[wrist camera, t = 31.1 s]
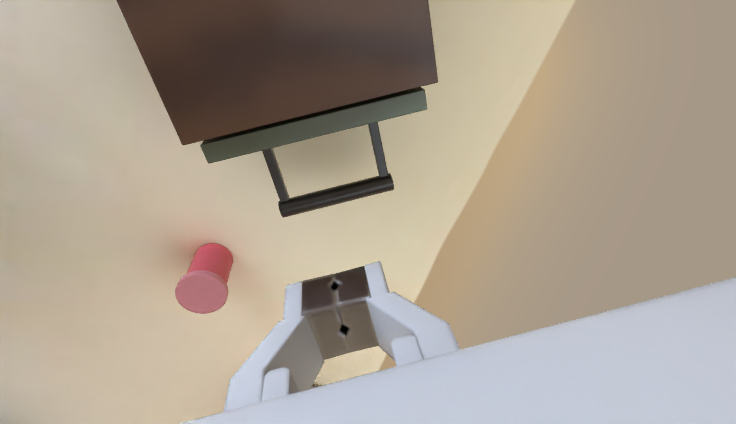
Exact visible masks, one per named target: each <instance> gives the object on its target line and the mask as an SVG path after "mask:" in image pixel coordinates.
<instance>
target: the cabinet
mask: <svg viewBox="0 0 736 424" xmlns="http://www.w3.org/2000/svg"><path fill="white" fill-rule="evenodd" d="M117 2H118V5H119V7H120V9H121V11H122V13H123V16H124V18H125V20H126V22H127V24H128V27H129V29H130V31H131V33H132V35H133V38H134V40H135V42H136V44H137V46H138V49H139V51H140V53H141V55H142V57H143V59H144V62H145V64H146V66H147V68H148V70H149V73H150V75H151V77H152V79H153V81H154V84H155V86H156V88H157V90H158V92H159V95H160V97H161V99H162V101H163V103H164V106H165V108H166V110H167V112H168V114H169V117H170V119H171V121H172V123H173V125H174V128H175V130H176V132H177V134H178V136H179V139H180V141H181V143H182V145H187V144H191V143H195V142H199V141H203V140H207V139H211V138H215V137H219V136H223V135H227V134H232V133H236V132H240V131H244V130H248V129H252V128H256V127H260V126H264V125H268V124H272V123H276V122H280V121H284V120H288V119H292V118H296V117H300V116H304V115H308V114H312V113H316V112H320V111H324V110H328V109H332V108H336V107H341V106H345V105H349V104H353V103H357V102H361V101H365V100H369V99H373V98H377V97H381V96H385V95H389V94H393V93H397V92H401V91H405V90H409V89H413V88H417V87H421V86H425V85H429V84H433V83H437V82H438V77H437V69H436V61H435V53H434V45H433V37H432V28H431V20H430V12H429V4H428V0H117Z"/></svg>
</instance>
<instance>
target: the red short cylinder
mask: <svg viewBox="0 0 736 424" xmlns="http://www.w3.org/2000/svg"><path fill="white" fill-rule="evenodd" d="M232 263H233V256H232V254H231V252H230V251H229V250H228V249H227V248H226V247H224V246H222V245H220V244H214V243H211V244H206V245H203V246H201V247H200V248H199V249H198V250H197V251H196V253H195V256H194V258H193V260H192V263H191V265H190V267H189V269H188V272H187V274H186V275H184V276H183V277H182V278H181V279H180V280H179V282H178V284H177V287H176V290H175V295H176V299H177V301H178V302H179V303H180V305H181V306H183V307H184V308H185V309H187V310H189V311H191V312H195V313H201V314H205V313H211V312H214V311H216V310H218V309H220V308H221V307H222V306H223V305H224V304H225V302H226V300H227V296H228V287H227V281H228V278H229V274H230V271H231V267H232Z"/></svg>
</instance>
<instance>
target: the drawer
mask: <svg viewBox="0 0 736 424" xmlns="http://www.w3.org/2000/svg"><path fill="white" fill-rule="evenodd" d="M426 109H427V103H426V96H425V90H424V89H423V88H421V87H417V88H413V89H409V90H405V91H401V92H397V93H393V94H389V95H385V96H381V97H377V98H373V99H369V100H365V101H361V102H357V103H353V104H349V105H345V106H341V107H336V108H332V109H328V110H324V111H320V112H316V113H312V114H308V115H304V116H300V117H296V118H292V119H288V120H284V121H280V122H276V123H272V124H268V125H264V126H260V127H256V128H252V129H248V130H244V131H240V132H236V133H232V134H227V135H223V136H219V137H215V138H211V139H207V140H204V141H203V142H202V144H201V148H202V150H203V153H204V155H205V157H206V160H207V162H208V163H209V164H210V163H214V162H218V161H222V160H226V159H230V158H234V157H238V156H242V155H246V154H250V153H254V152H258V151H263V154H264V157H265V160H266V163H267V165H268V168H269V171H270V174H271V177H272V179H273V182H274V185H275V188H276V191H277V193H278V196H279V199H280V201H279V203H278V204H279V210H280V213H281V215H282V217H288V216H292V215H296V214H300V213H304V212H308V211H312V210H316V209H320V208H324V207H328V206H331V205H335V204H339V203H343V202H347V201H351V200H355V199H359V198H363V197H367V196H371V195H375V194H379V193H383V192H387V191H391V190H394V184H393V180H392V177H391V174H390V173H388V171H387V166H386V162H385V157H384V152H383V147H382V142H381V137H380V132H379V127H378V121H382V120H386V119H390V118H394V117H398V116H402V115H406V114H410V113H414V112H418V111H422V110H426ZM366 124H368V127H369V132H370V136H371V141H372V146H373V150H374V155H375V160H376V164H377V169H378V174H379V176H376V177H372V178H368V179H364V180H360V181H356V182H352V183H348V184H344V185H340V186H336V187H332V188H328V189H325V190H321V191H317V192H313V193H309V194H305V195H301V196H297V197H293V198H289V195H288V192H287V189H286V186H285V183H284V180H283V177H282V174H281V171H280V168H279V165H278V163H277V160H276V157H275V154H274V151H273V148H274V147H278V146H282V145H286V144H290V143H294V142H298V141H302V140H306V139H310V138H314V137H318V136H322V135H326V134H330V133H334V132H338V131H342V130H346V129H350V128H354V127H358V126H362V125H366Z"/></svg>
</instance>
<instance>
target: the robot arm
mask: <svg viewBox="0 0 736 424" xmlns="http://www.w3.org/2000/svg"><path fill="white" fill-rule="evenodd" d="M375 346H379V347H380V348H381V349H382V350H383V351H385V352H386V353H387V354H388V355H389V356H390V357H391V358H392V359H393V360H394V361H395V362H396V367H392V368H389V369H385V370H381V371H377V372H373V373H369V374H366V375H362V376H358V377H354V378H350V379H347V380H343V381H339V382H335V383H331V384H328V385H324V386H320V387H316V388H312V389H311V387H312V385H313V383H314V381H315V379H316V377H317V375H318V373H319V371H320V369H321V367H322V365H323V363H324V360H325V359H329V358H332V357H336V356H339V355H343V354H346V353H350V352H353V351H358V350H362V349H366V348H371V347H375ZM179 424H736V277H734V278H731V279H727V280H723V281H719V282H716V283H712V284H708V285H705V286H700V287H697V288H693V289H689V290H686V291H682V292H678V293H674V294H670V295H667V296H663V297H659V298H656V299H651V300H648V301H644V302H640V303H636V304H632V305H629V306H625V307H621V308H617V309H613V310H609V311H605V312H602V313H598V314H594V315H590V316H586V317H583V318H579V319H575V320H571V321H567V322H564V323H560V324H556V325H552V326H548V327H545V328H541V329H537V330H534V331H530V332H525V333H522V334H518V335H514V336H511V337H507V338H503V339H499V340H495V341H492V342H488V343H484V344H480V345H476V346H472V347H468V348H465V349H461V350H460V348H459V346H458V343H457V341H456V339H455V337H454V334H453V332H452V330H451V328H450V325H449V323H447V322H445V321H443V320H442V319H440V318H438V317H437V316H435V315H433V314H432V313H430V312H428V311H426V310H425V309H423V308H421V307H419V306H418V305H416V304H414V303H412V302H411V301H409V300H407V299H406V298H404V297H402V296H400V295H399V294H397V293H395V292H391V293H389V289H388V286H387V282H386V279H385V275H384V272H383V268H382V265H381V262H380V261H378V262H374V263H371V264H368V265H365V267H364V266H362V267H358V268H355V269H351V270H347V271H343V272H340V273H336V274H330V275H326V276H322V277H318V278H313V279H309V280H305V281H301V282H297V283H293V284H289V285H287V286H286V289H285V303H284V316H283V321H279V322H278V323H277V324H276V325H275V327H274V328H273V329H272V330H271V331H270V333H269V334H268V335H267V336H266V337H265V339H264V340H263V341H262V342H261V343H260V345H259V346H258V347H257V348H256V349H255V351H254V352H253V353H252V354H251V355H250V357H249V358H248V359H247V360H246V361H245V363H244V364H243V365H242V366H241V367H240V369H239V370H238V371H237V372H236V373H235V375H234V376H233V377H232V378H231V379H230V383H229V388H228V392H227V397H226V402H225V407H224V412H221V413H217V414H213V415H209V416H205V417H202V418H198V419H194V420H190V421H186V422H183V423H179Z"/></svg>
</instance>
